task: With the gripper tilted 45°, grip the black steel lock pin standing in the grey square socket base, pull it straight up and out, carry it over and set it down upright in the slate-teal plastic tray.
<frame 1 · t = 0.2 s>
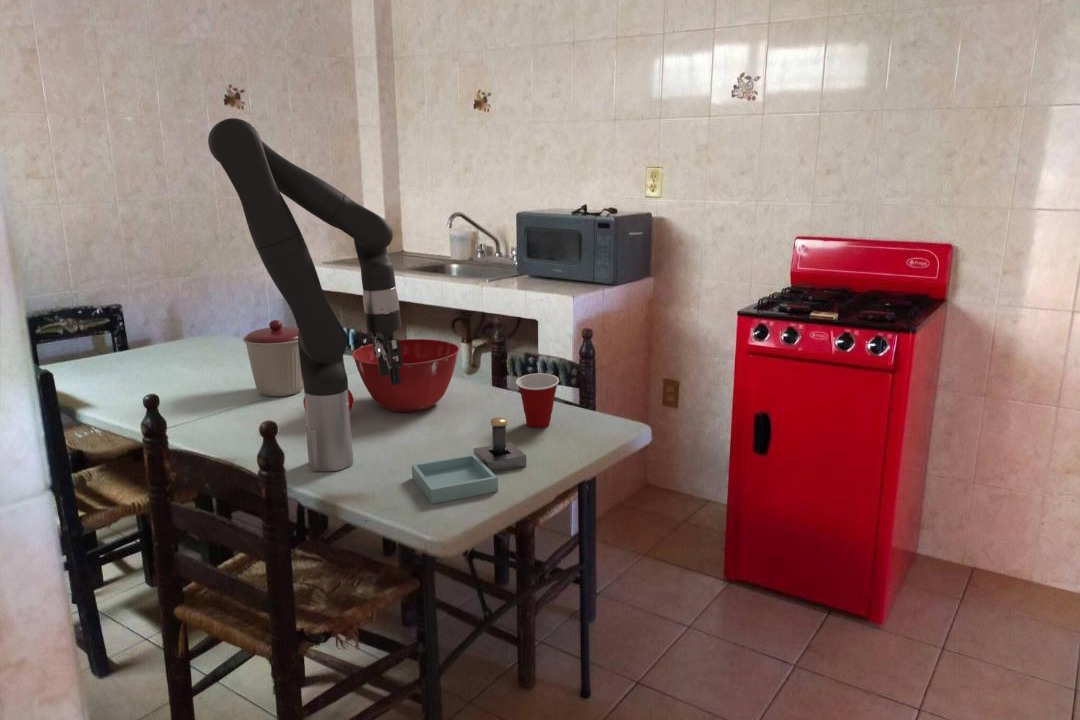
hand: (390, 379, 175), 18 cm above the table, tool pointing down, fingers open, 8 cm apart
lock pin: (499, 441, 174), in the grey square socket base
tray: (454, 484, 164), on the table
tomato: (330, 421, 203), on the table
plastic cup: (537, 425, 199), on the table
grey square socket base: (499, 462, 175), on the table
mixing bowl: (409, 405, 215), on the table
canister: (282, 392, 227), on the table
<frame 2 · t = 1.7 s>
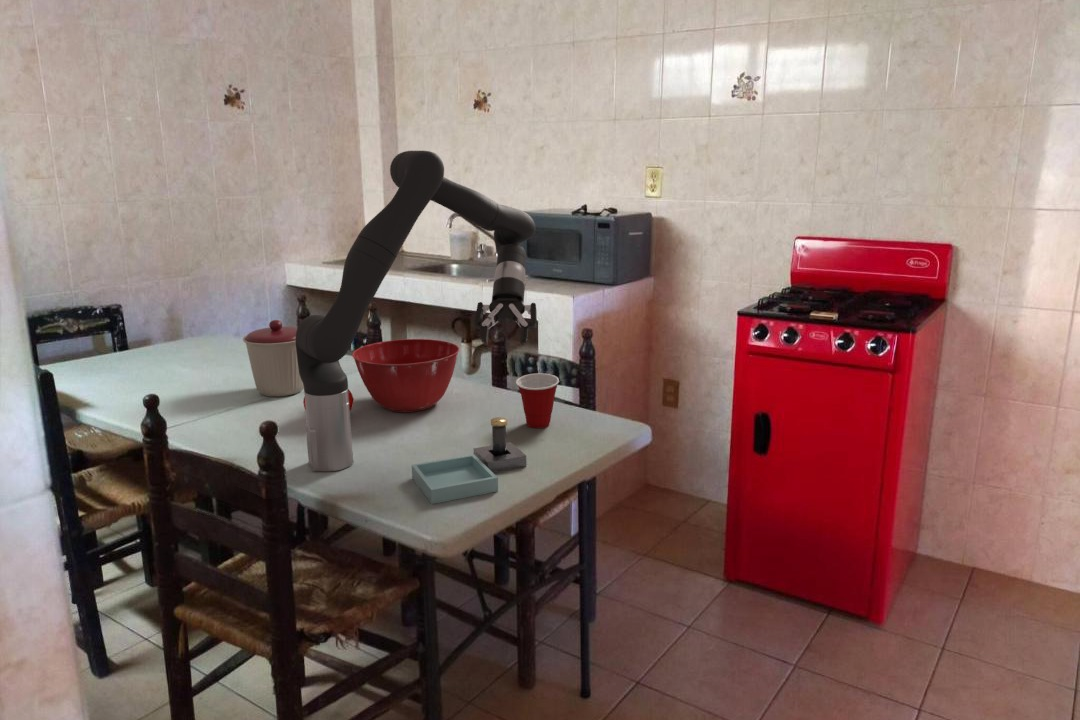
hand: (503, 343, 179), 25 cm above the table, tool tilted 45°, fingers open, 8 cm apart
nothing on the table moved.
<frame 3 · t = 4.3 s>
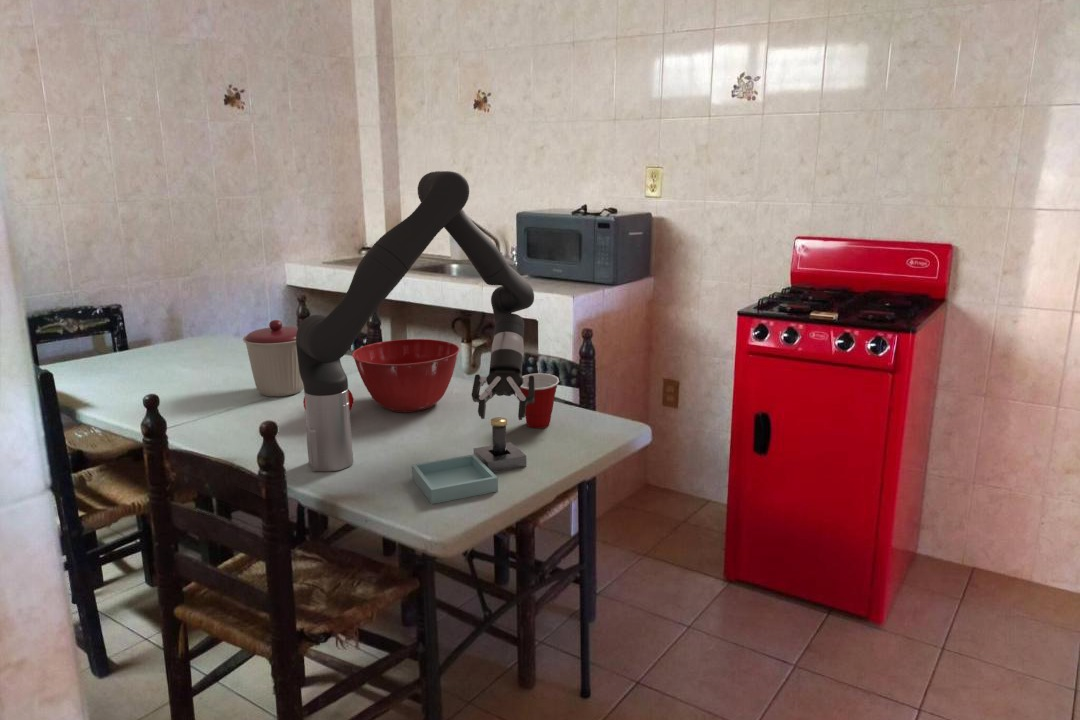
hand: (501, 418, 176), 9 cm above the table, tool tilted 45°, fingers open, 8 cm apart
nothing on the table moved.
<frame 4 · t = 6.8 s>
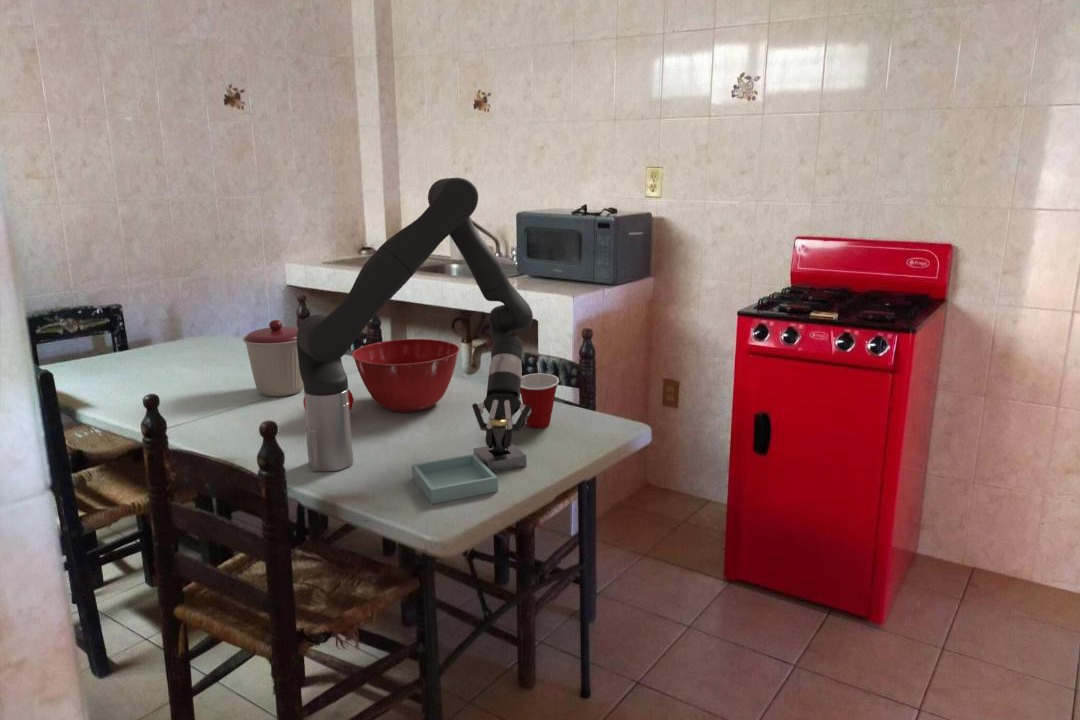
hand: (498, 446, 172), 4 cm above the table, tool tilted 45°, fingers closed on lock pin, 3 cm apart
lock pin: (499, 441, 174), in the grey square socket base, touching gripper
everything else where it was.
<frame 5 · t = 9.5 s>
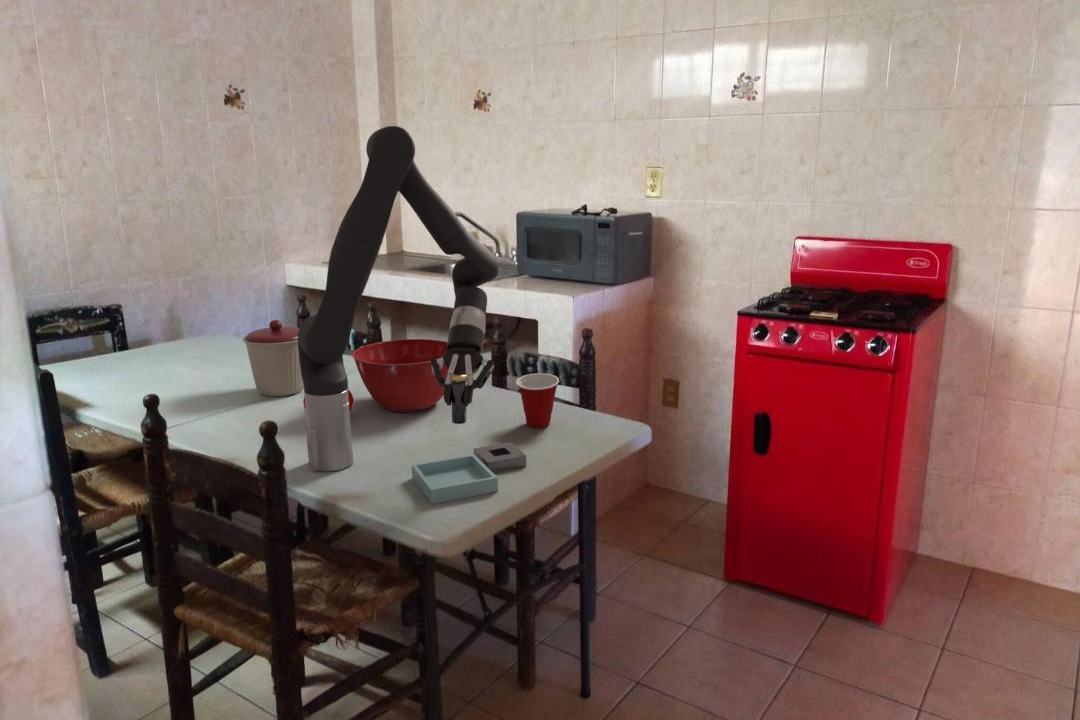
hand: (457, 403, 159), 18 cm above the table, tool tilted 45°, fingers closed on lock pin, 3 cm apart
lock pin: (458, 398, 161), point 18 cm above the table, touching gripper
everything else where it was.
when the fingers open (7 cm above the table, at t = 12.5 s): lock pin drops 2 cm, resting on tray.
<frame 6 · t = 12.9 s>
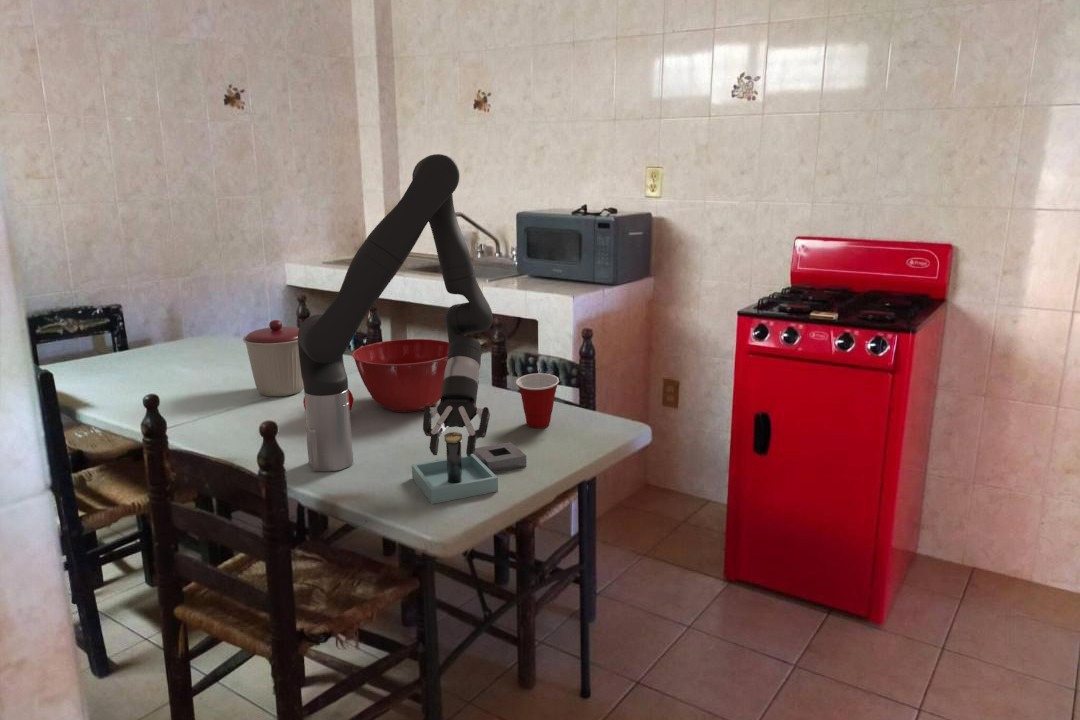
hand: (451, 454, 160), 7 cm above the table, tool tilted 45°, fingers open, 6 cm apart
lock pin: (454, 458, 162), in the tray, point 6 cm above the table
everything else where it was.
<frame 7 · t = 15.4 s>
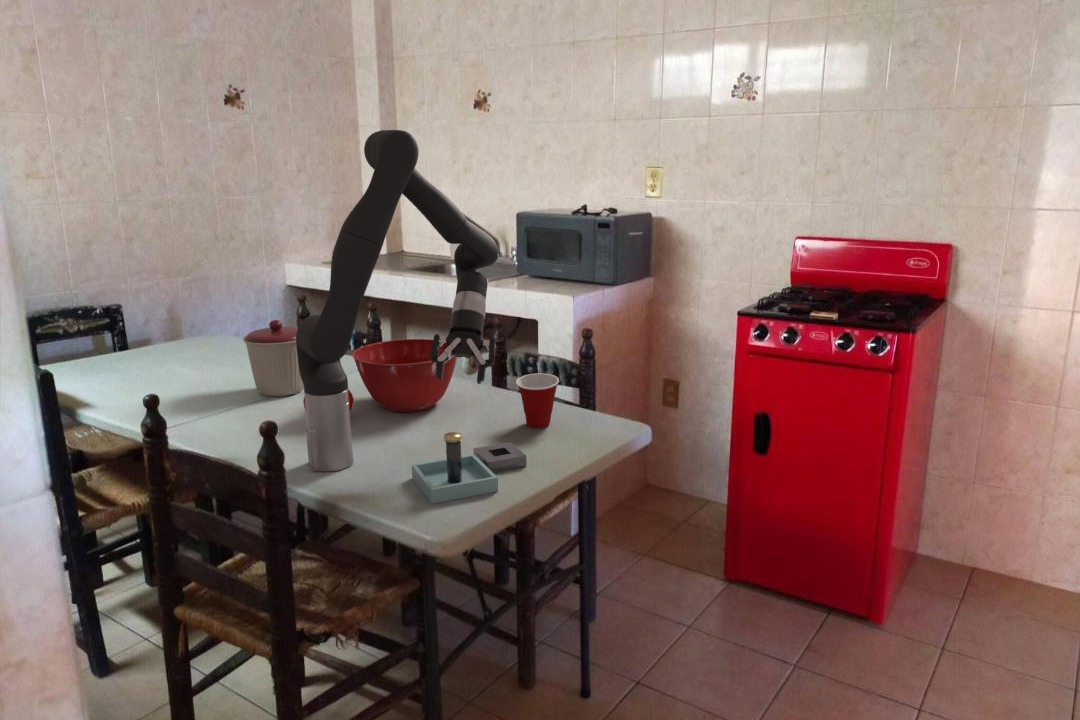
hand: (459, 381, 173), 18 cm above the table, tool tilted 40°, fingers open, 8 cm apart
nothing on the table moved.
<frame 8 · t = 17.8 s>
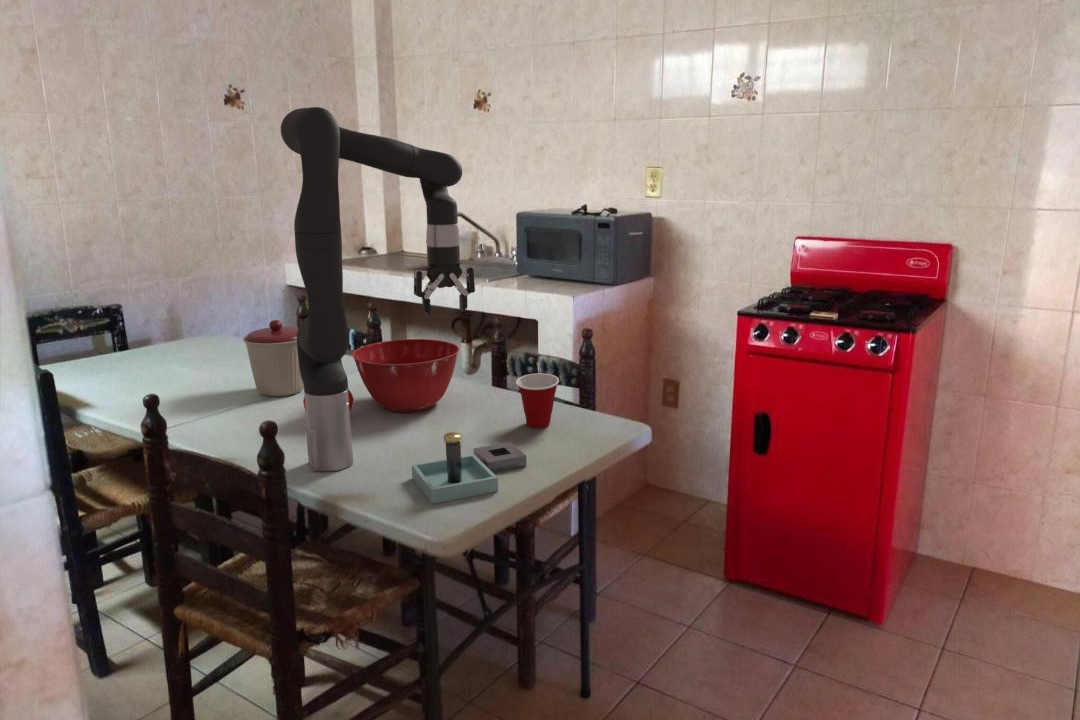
hand: (445, 312, 186), 30 cm above the table, tool pointing down, fingers open, 8 cm apart
nothing on the table moved.
at the end: lock pin inside the target area on the tray (0.2 cm from its centre), point 5.8 cm above the tray's base; lock pin moved 14.6 cm from its start; the gripper is holding nothing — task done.
